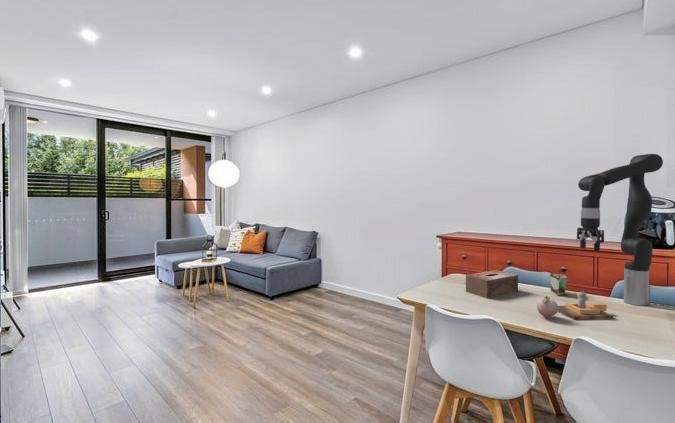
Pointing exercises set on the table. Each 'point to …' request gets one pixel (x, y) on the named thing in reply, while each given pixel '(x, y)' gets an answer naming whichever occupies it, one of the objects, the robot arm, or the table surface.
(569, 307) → the link
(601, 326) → the table surface
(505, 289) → the tissue box cover
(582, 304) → the keeper
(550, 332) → the table surface
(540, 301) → the decorative fruit
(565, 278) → the food container
